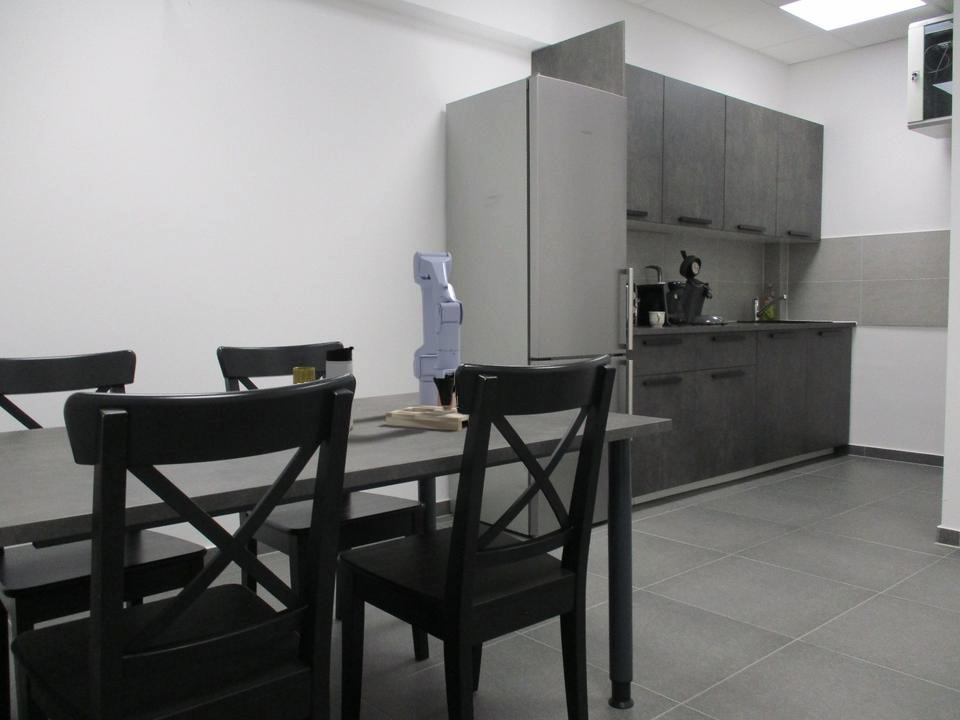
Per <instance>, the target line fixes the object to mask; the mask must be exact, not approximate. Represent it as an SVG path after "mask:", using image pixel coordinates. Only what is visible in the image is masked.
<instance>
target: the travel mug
mask: <svg viewBox="0 0 960 720" xmlns="http://www.w3.org/2000/svg"><path fill="white" fill-rule="evenodd" d="M354 350H355V347H354V346H349V347H343V348H342V347H341V348H340V347H339V348H334V349H329V350H328V349H327V350H326V352H325V356H326V359H325V379H326V378H328V377H333V376H338V375H341V374H345V373H351V374H354V373H353V372H354V371H353V369H354V368H353V367H354V366H353V365H354V364H353V361H354V360H353V351H354ZM353 429H354V404H353V405H352V413H351V428H350V431H352V430H353Z"/></svg>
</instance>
